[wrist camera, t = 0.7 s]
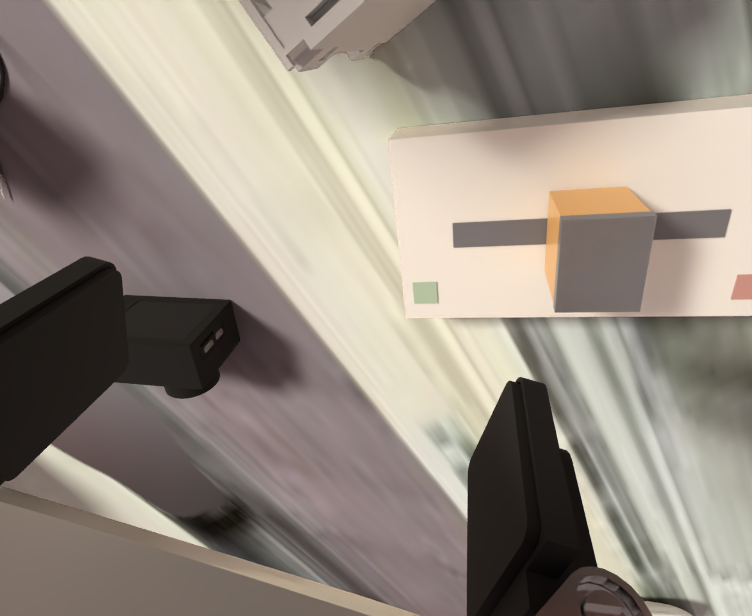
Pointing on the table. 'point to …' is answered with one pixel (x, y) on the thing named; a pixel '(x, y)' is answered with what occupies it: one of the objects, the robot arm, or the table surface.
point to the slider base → (570, 172)
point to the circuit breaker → (329, 27)
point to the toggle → (597, 249)
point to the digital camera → (178, 342)
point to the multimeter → (0, 90)
